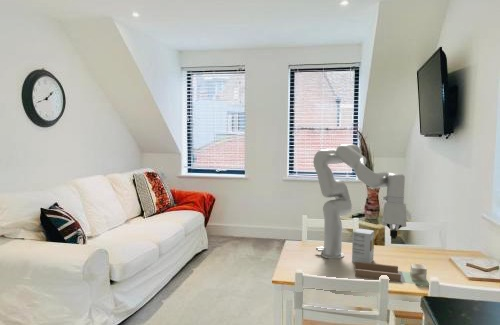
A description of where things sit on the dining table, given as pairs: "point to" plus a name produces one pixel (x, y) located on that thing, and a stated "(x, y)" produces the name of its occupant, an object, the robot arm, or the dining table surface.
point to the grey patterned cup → (418, 272)
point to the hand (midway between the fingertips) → (393, 237)
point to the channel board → (384, 273)
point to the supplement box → (363, 245)
